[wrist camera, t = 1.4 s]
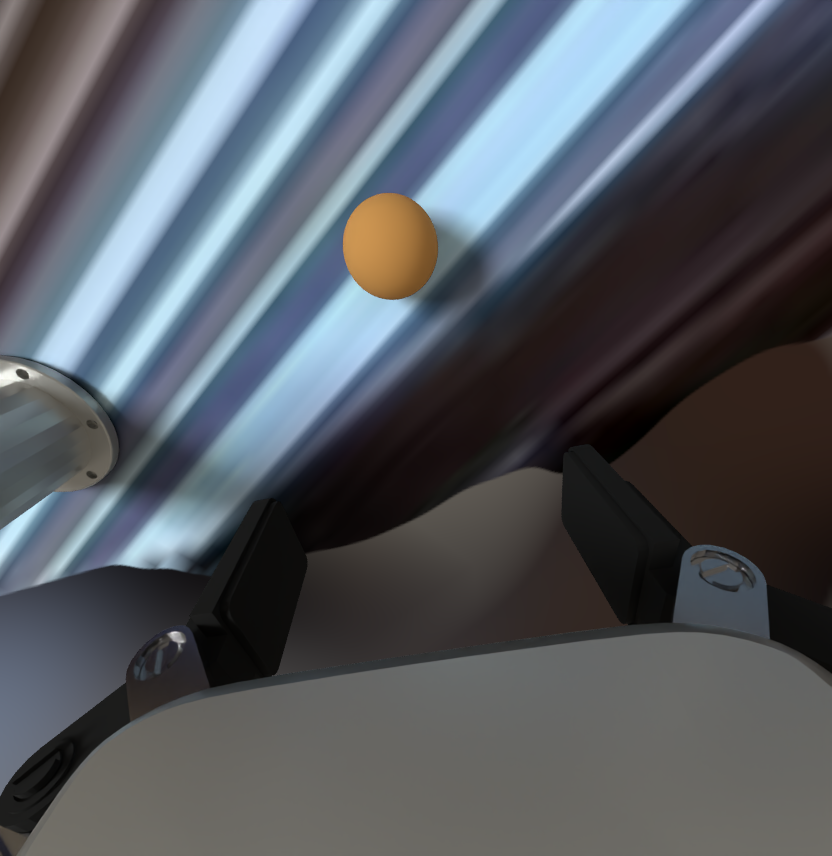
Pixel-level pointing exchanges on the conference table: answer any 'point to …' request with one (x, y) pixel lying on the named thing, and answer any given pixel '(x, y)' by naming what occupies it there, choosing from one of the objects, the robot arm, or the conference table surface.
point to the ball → (390, 246)
